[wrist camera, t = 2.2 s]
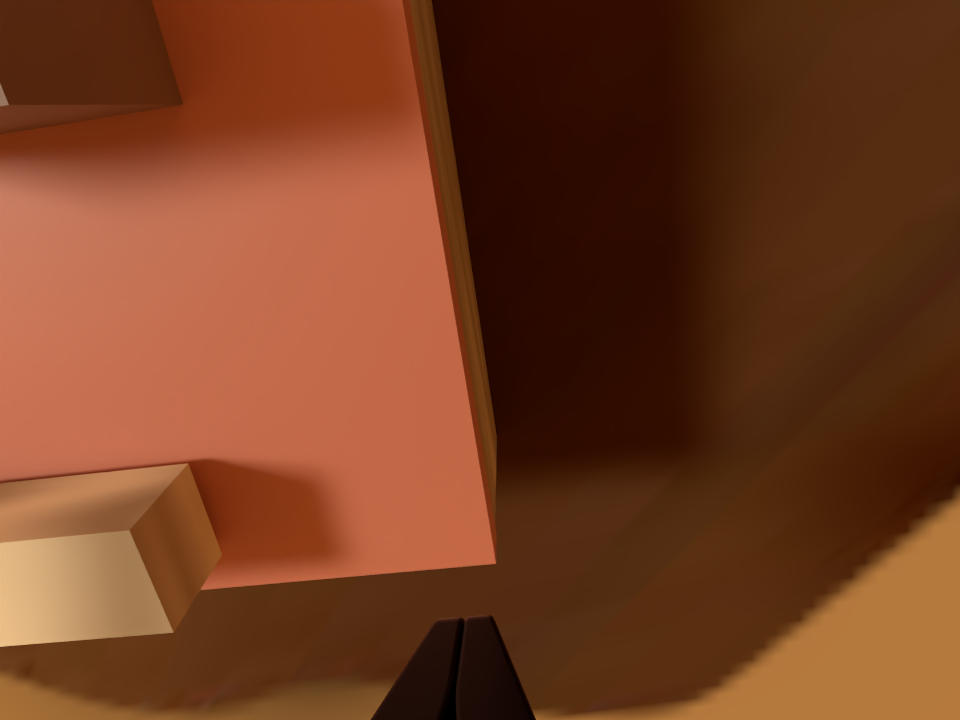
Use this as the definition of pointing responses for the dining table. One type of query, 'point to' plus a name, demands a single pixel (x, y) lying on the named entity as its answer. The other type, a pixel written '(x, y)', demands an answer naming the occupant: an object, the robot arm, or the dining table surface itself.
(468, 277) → the toolbox
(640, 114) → the dining table surface
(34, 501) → the tan wooden bar
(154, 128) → the lid
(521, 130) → the dining table surface
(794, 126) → the dining table surface
